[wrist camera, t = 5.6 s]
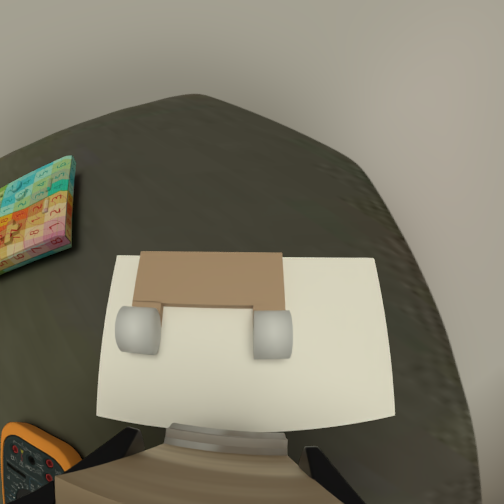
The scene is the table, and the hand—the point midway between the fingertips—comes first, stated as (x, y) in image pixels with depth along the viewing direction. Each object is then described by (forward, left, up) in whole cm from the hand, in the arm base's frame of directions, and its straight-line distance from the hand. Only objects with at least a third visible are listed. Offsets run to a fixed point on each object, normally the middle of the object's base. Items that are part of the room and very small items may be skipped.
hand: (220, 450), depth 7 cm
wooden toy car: (0, -1, -6) cm, 6 cm away
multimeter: (-19, -9, -14) cm, 25 cm away
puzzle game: (-23, +21, -14) cm, 34 cm away
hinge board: (+2, +6, -13) cm, 15 cm away
